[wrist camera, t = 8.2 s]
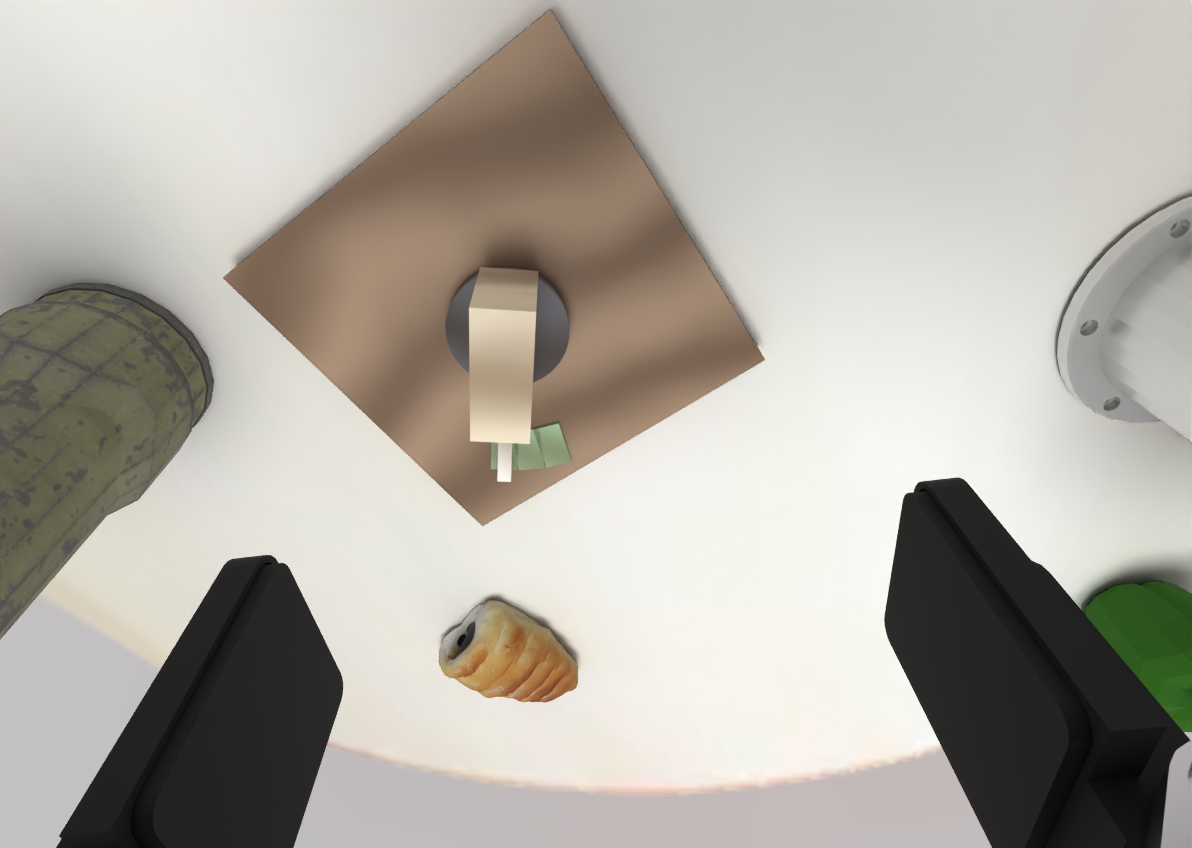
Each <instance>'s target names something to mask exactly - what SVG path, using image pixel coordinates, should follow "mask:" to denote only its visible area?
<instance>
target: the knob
mask: <svg viewBox="0 0 1192 848" xmlns="http://www.w3.org/2000/svg"><path fill="white" fill-rule="evenodd" d="M445 332H446V338H447V343H448V346H449V348H450V351H451V352H452V354H453V356H454V358H455V359H456V360H457V362H458V363H459V364H460V365H461V366H462V367H463V368H464V369H465V370H466V371H467V372H468V373H470V441H475V442H496V443H498V475H497V481H500V482H511V474H512V443H518V444H530V431H531V412H532V394H533V382H536V381H538V380H540V379H542V378H544V377H545V376H546V375H548V374H549V373H550V372H551V371H553V370H554V369H555V368H556V366H557V365H558V364H559V363H560V361H561V360H562V358H563V356H564V354H565V352H566V349H567V346H568V342H569V318H568V312H567V308H566V305H565V303H564V301H563V298H562V297H561V295H560V294H559V292H558V291H557V290H556V288H555V287H554V286H553V285H552V284H551V283H550V282H549V281H548V280H546V279H545V278H544V277H542V276H541V275H539V274H538V271H530V270H528V269H525V268H521V267H516V266H496V267H491V268H486V267H480V269H479V272H477V273H476V274H474V275H472V276H471V277H469V278H468V279H467V280H466V281H465V282H464V283H463V284H462V285H461V286H460V287H459V288H458V290H457V291H456V293H455V294H454V296H453V298H452V301H451V304H450V307H449V310H448V313H447V317H446V323H445Z"/></svg>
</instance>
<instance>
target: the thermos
mask: <svg viewBox="0 0 1192 848" xmlns="http://www.w3.org/2000/svg"><path fill="white" fill-rule="evenodd" d="M213 382H214V381H213V377H212V373H211V369H210V365H209V361H208V357H207V356H206V354H205V352H204V351H203V349H202V348H201V346H200V344H199V343H198V341H197V340H196V338H195V336H194V335H193V333H192V332H191V331H190V330H189V329H188V328H187V327H185V326H184V325H183V324H182V323H181V322H180V321H179V320H178V319H177V318H176V317H175V316H174V315H173V314H172V313H171V312H170V311H168V310H166V309H165V308H163V307H161V306H160V305H158V304H156V303H154V302H153V301H151V300H149V299H148V298H146V297H144V296H142V295H141V294H138V293H134V292H131V291H128V290H125V289H122V288H118V287H115V286H112V285H108V284H87V283H77V284H73V285H69V286H66V287H62V288H58V289H55V290H51V291H50V292H48V293H46V294H45V295H43V296H42V297H40V298H39V299H38V300H37V301H35V302H34V303H32V304H29V305H25V306H21V307H17V308H14V309H11V310H9V311H7V312H5V313H4V314H2V315H0V639H1V638H2V637H3V636H4V635H5V633H6V632H7V631H8V630H9V629H10V628H11V626H12V625H13V624H14V623H15V622H16V621H17V620H18V618H19V617H20V616H21V615H22V614H23V612H24V611H25V610H26V609H27V608H28V607H29V605H30V604H31V603H32V602H33V601H34V600H35V599H36V597H37V596H38V595H39V594H40V593H41V592H42V590H43V589H44V588H45V587H46V586H47V585H48V583H49V582H50V581H51V580H52V579H53V578H54V577H55V575H56V574H57V573H58V572H59V571H60V570H61V568H62V567H63V566H64V565H65V564H66V563H67V561H68V560H69V559H70V558H71V557H72V556H73V554H74V553H75V552H76V551H77V550H78V549H79V547H80V546H81V545H82V544H83V543H84V542H85V540H86V539H87V538H88V537H89V536H90V535H91V533H92V532H93V531H94V530H95V529H96V528H97V527H98V525H99V524H100V523H101V522H102V521H103V520H104V518H105V517H106V516H107V515H109V514H111V513H113V512H115V511H117V510H119V509H121V508H123V507H125V506H127V505H129V504H131V503H133V502H135V501H137V500H139V498H140V497H141V496H142V495H143V493H144V492H145V491H146V490H147V489H148V487H149V486H150V485H151V484H152V483H153V481H154V480H155V479H156V478H157V477H158V475H159V474H160V473H161V472H162V470H163V469H164V468H165V467H166V466H167V464H168V463H169V462H170V461H171V460H172V458H173V457H174V456H175V455H176V453H177V452H178V451H179V450H180V448H181V447H182V445H183V443H184V442H185V440H186V439H187V437H188V436H189V434H190V432H191V429H192V428H193V427H194V426H195V425H196V424H197V423H198V422H199V420H200V419H201V417H202V416H203V414H204V413H205V411H206V409H207V408H208V406H209V405H210V403H211V397H212V390H213Z"/></svg>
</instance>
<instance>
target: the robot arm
mask: <svg viewBox="0 0 1192 848" xmlns="http://www.w3.org/2000/svg"><path fill="white" fill-rule="evenodd" d="M1057 359H1058V365H1059V370H1060V375H1061V377H1062V379H1063V381H1064V383H1065V385H1066V387H1067V388H1068V390H1069V391H1070V392H1071V393H1072V394H1073V395H1074V396H1075V397H1076V398H1077V399H1078V400H1079V401H1080V402H1081V403H1083V404H1084V405H1086V406H1087V407H1088V408H1090V409H1091V410H1093V411H1094V412H1095V413H1097V414H1100V415H1102V416H1105V417H1107V418H1109V419H1112V420H1118V421H1123V422H1129V423H1145V422H1156V421H1163V422H1164V423H1166V424H1167V425H1169V426H1170V427H1171V428H1173V429H1174V430H1176V431H1177V432H1179V433H1180V434H1181V435H1183V436H1184V437H1186V438H1187V439H1189V440H1190V442H1192V196H1190V197H1187V198H1185V199H1182V200H1180V201H1178V202H1176V203H1174V204H1172V205H1170V206H1168V207H1167V208H1165V209H1163V210H1161V211H1159V212H1157V213H1155V214H1154V215H1152V216H1151V217H1149V218H1148V219H1146V220H1145V221H1143V222H1142V223H1141V224H1139V225H1138V226H1136V227H1135V228H1133V229H1132V230H1130V231H1129V232H1128V233H1127V234H1126V235H1125V236H1124V237H1123V238H1121V239H1120V240H1119V241H1118V242H1117V243H1116V244H1115V245H1114V246H1112V247H1111V248H1110V249H1109V250H1108V251H1107V252H1106V253H1105V254H1104V256H1103V257H1102V258H1101V259H1100V260H1099V261H1098V262H1097V264H1096V265H1095V266H1094V267H1093V268H1092V269H1091V270H1090V272H1089V273H1088V274H1087V276H1086V277H1085V279H1084V280H1083V282H1082V283H1081V285H1080V286H1079V288H1078V289H1077V291H1076V292H1075V294H1074V296H1073V298H1072V300H1071V302H1070V305H1069V307H1068V309H1067V311H1066V313H1065V315H1064V318H1063V322H1062V325H1061V329H1060V333H1059V337H1058V350H1057ZM884 621H885V629H886V633H887V636H888V639H889V642H890V644H891V646H892V648H893V650H894V652H895V654H896V656H897V658H898V660H899V662H900V664H901V666H902V668H903V670H904V672H905V674H906V676H907V678H908V680H909V682H910V684H911V686H912V688H913V690H914V692H915V694H916V696H917V698H918V700H919V702H920V704H921V706H922V708H923V710H924V712H925V714H926V716H927V718H928V720H929V722H930V724H931V726H932V728H933V730H934V732H935V734H936V736H937V738H938V740H939V742H940V744H941V746H942V748H943V750H944V752H945V754H946V756H947V758H948V760H949V762H950V764H951V766H952V768H953V770H954V772H955V774H956V776H957V778H958V780H959V782H960V784H961V786H962V788H963V790H964V792H965V794H966V796H967V798H968V800H969V802H970V804H971V806H972V808H973V810H974V812H975V814H976V816H977V818H978V820H979V822H980V824H981V826H982V828H983V830H984V832H985V834H986V836H987V838H988V840H989V842H990V844H991V846H992V848H1192V741H1191V740H1190V739H1189V738H1188V737H1187V736H1186V735H1185V733H1184V732H1183V731H1182V730H1181V729H1180V727H1179V726H1178V725H1177V724H1176V723H1175V721H1174V720H1173V719H1172V718H1171V717H1170V715H1169V714H1168V713H1167V712H1166V711H1165V709H1164V708H1163V707H1162V706H1161V705H1160V703H1159V702H1158V701H1157V700H1156V699H1155V698H1154V696H1153V695H1152V694H1151V693H1150V692H1149V690H1148V689H1147V688H1146V687H1145V686H1144V684H1143V683H1142V682H1141V681H1140V680H1139V678H1138V677H1137V676H1136V675H1135V674H1134V672H1133V671H1132V670H1131V669H1130V668H1129V667H1128V665H1127V664H1126V663H1125V662H1124V661H1123V659H1122V658H1121V657H1120V656H1119V655H1118V653H1117V652H1116V651H1115V650H1114V649H1113V647H1112V646H1111V645H1110V644H1109V643H1108V641H1107V640H1106V639H1105V638H1104V637H1103V635H1102V634H1101V633H1100V632H1099V631H1098V630H1097V628H1096V627H1095V626H1094V625H1093V624H1092V622H1091V621H1090V620H1089V619H1088V618H1087V616H1086V615H1085V614H1084V613H1083V612H1082V610H1081V609H1080V608H1079V607H1078V606H1077V604H1076V603H1075V602H1074V601H1073V600H1072V599H1071V597H1070V596H1069V595H1068V594H1067V593H1066V591H1065V590H1064V589H1063V588H1062V587H1061V585H1060V584H1059V583H1058V582H1057V581H1056V579H1055V578H1054V577H1053V576H1052V575H1051V574H1050V573H1049V572H1048V571H1047V570H1046V569H1045V568H1044V567H1043V566H1042V565H1040V564H1038V563H1036V562H1034V561H1031V560H1030V558H1029V557H1028V556H1027V555H1026V554H1025V552H1024V551H1023V550H1022V549H1021V547H1020V546H1019V545H1018V544H1017V543H1016V541H1015V540H1014V539H1013V538H1012V537H1011V535H1010V534H1009V533H1008V532H1007V530H1006V529H1005V528H1004V527H1003V526H1002V524H1001V523H1000V522H999V521H998V520H997V518H996V517H995V516H994V515H993V513H992V512H991V511H990V510H989V509H988V507H987V506H986V505H985V504H984V503H983V501H982V500H981V499H980V498H979V496H978V495H977V494H976V493H975V492H974V490H973V489H972V488H971V487H970V486H969V484H968V483H967V482H966V481H965V480H963V479H961V478H950V479H941V480H932V481H923V482H919V483H918V484H917V485H916V487H915V490H914V492H913V493H907V494H906V495H905V496H904V499H903V504H902V510H901V517H900V523H899V529H898V535H897V542H896V548H895V554H894V560H893V567H892V573H891V579H890V585H889V592H888V598H887V604H886V611H885V619H884ZM342 694H343V680H342V676H341V673H340V671H339V669H338V667H337V665H336V663H335V661H334V659H333V657H332V655H331V653H330V650H329V648H328V646H327V644H326V642H325V640H324V638H323V636H322V634H321V632H320V630H319V628H318V626H317V624H316V622H315V620H314V618H313V616H312V614H311V612H310V610H309V608H308V606H307V603H306V601H305V599H304V597H303V595H302V593H301V591H300V589H299V587H298V585H297V583H296V581H295V579H294V577H293V575H292V573H291V571H290V569H289V567H288V566H287V565H286V564H284V563H278V562H277V560H276V559H275V558H274V557H273V556H271V555H263V556H254V557H246V558H237V559H231V560H229V561H228V562H227V563H226V564H225V565H224V566H223V568H222V569H221V571H220V573H219V574H218V576H217V578H216V579H215V581H214V583H213V584H212V586H211V587H210V589H209V591H208V592H207V594H206V596H205V597H204V599H203V601H202V602H201V604H200V606H199V607H198V609H197V610H196V612H195V614H194V615H193V617H192V619H191V620H190V622H189V624H188V625H187V627H186V629H185V630H184V632H183V633H182V635H181V637H180V638H179V640H178V642H177V643H176V645H175V647H174V648H173V650H172V651H171V653H170V655H169V656H168V658H167V660H166V661H165V663H164V665H163V666H162V668H161V670H160V671H159V673H158V674H157V676H156V678H155V680H154V681H153V683H152V684H151V686H150V688H149V689H148V691H147V693H146V694H145V696H144V698H143V699H142V701H141V702H140V704H139V706H138V707H137V709H136V711H135V712H134V714H133V716H132V717H131V719H130V721H129V722H128V724H127V725H126V727H125V729H124V730H123V732H122V734H121V735H120V737H119V738H118V740H117V742H116V744H115V745H114V747H113V749H112V750H111V752H110V753H109V755H108V757H107V758H106V760H105V762H104V763H103V765H102V766H101V768H100V770H99V772H98V773H97V775H96V776H95V778H94V780H93V781H92V783H91V784H90V786H89V788H88V790H87V791H86V793H85V794H84V796H83V798H82V799H81V801H80V803H79V804H78V806H77V807H76V809H75V811H74V813H73V814H72V816H71V817H70V819H69V821H68V822H67V824H66V826H65V827H64V829H63V830H62V832H61V834H60V835H59V836H60V837H61V838H62V839H61V841H60V843H59V844H58V846H57V847H56V848H293V847H294V844H295V841H296V837H297V834H298V831H299V828H300V825H301V822H302V819H303V816H304V813H305V810H306V807H307V804H308V801H309V798H310V795H311V791H312V788H313V785H314V782H315V779H316V776H317V773H318V770H319V767H320V764H321V761H322V758H323V755H324V752H325V748H326V745H327V742H328V739H329V736H330V733H331V730H332V727H333V724H334V721H335V718H336V715H337V711H338V708H339V705H340V702H341V699H342Z"/></svg>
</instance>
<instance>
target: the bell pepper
mask: <svg viewBox="0 0 1192 848" xmlns="http://www.w3.org/2000/svg"><path fill="white" fill-rule="evenodd" d="M1086 616H1087V618H1088V619H1089V620H1090V621H1091V622H1092V624H1093V625H1094V626H1095V627H1096V628H1097V630H1098V631H1099V632H1100V633H1101V634H1102V635H1103V637H1104V638H1105V639H1106V640H1107V641H1108V643H1109V644H1110V645H1111V646H1112V647H1113V649H1114V650H1115V651H1116V652H1117V653H1118V655H1119V656H1120V657H1121V658H1122V659H1123V661H1124V662H1125V663H1126V664H1127V665H1128V667H1129V668H1130V669H1131V670H1132V671H1133V672H1134V674H1135V675H1136V676H1137V677H1138V678H1139V680H1140V681H1141V682H1142V683H1143V684H1144V686H1145V687H1146V688H1147V689H1148V690H1149V692H1150V693H1151V694H1152V695H1153V696H1154V698H1155V699H1156V700H1157V701H1158V702H1159V703H1160V705H1161V706H1162V707H1163V708H1164V709H1165V711H1166V712H1167V713H1168V714H1169V715H1170V717H1171V718H1172V719H1173V720H1174V721H1175V723H1176V724H1177V725H1178V726H1179V727H1180V729H1181V730H1182V731H1183V732H1192V594H1191V593H1189V592H1187V591H1185V590H1184V589H1182V588H1180V587H1178V586H1177V585H1174V584H1170V583H1167V582H1163V581H1148V582H1146V583H1144V584H1142V585H1141V586H1140V585H1137V584H1135V583H1130V584H1122V585H1114V586H1113V587H1111V588H1109V589H1107V590H1106V591H1104V592H1102V593H1100V594H1099V595H1097V596H1096V597H1095V598H1094V599H1093V600H1092V601H1091V602H1090V603H1089V604H1088V605H1087V606H1086Z"/></svg>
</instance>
